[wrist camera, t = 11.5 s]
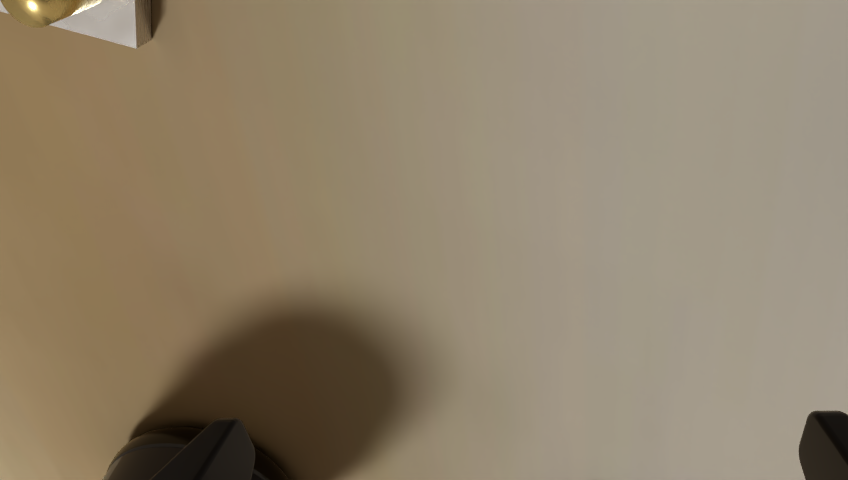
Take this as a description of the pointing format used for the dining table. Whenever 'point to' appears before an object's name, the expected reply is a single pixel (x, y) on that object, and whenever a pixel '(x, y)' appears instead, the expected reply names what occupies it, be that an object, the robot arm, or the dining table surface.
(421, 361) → the dining table surface
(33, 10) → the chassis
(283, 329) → the dining table surface
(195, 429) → the supplement container
